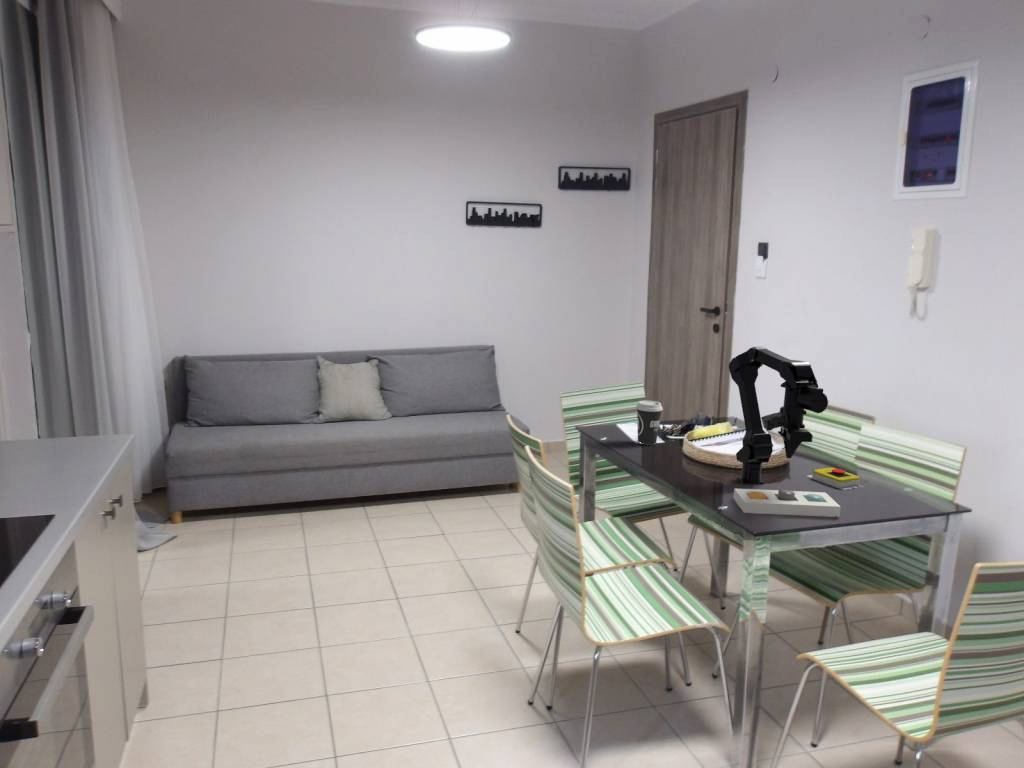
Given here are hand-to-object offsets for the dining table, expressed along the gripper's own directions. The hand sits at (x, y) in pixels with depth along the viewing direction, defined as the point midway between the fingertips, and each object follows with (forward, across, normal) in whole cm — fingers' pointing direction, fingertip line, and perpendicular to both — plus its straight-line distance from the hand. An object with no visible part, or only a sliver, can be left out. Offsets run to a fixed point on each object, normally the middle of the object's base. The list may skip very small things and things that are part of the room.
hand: (788, 457), depth 231 cm
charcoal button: (+10, +9, -3) cm, 14 cm away
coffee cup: (+12, -55, -33) cm, 65 cm away
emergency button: (+13, -18, +21) cm, 30 cm away
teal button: (+11, +9, +5) cm, 15 cm away
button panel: (+12, +9, -2) cm, 15 cm away
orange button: (+11, +9, -11) cm, 18 cm away
